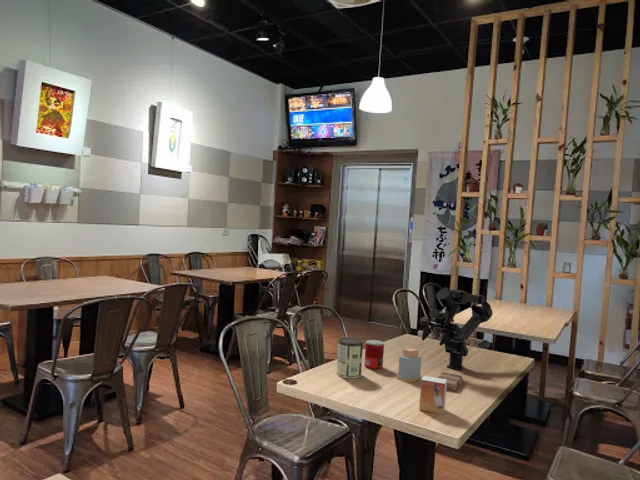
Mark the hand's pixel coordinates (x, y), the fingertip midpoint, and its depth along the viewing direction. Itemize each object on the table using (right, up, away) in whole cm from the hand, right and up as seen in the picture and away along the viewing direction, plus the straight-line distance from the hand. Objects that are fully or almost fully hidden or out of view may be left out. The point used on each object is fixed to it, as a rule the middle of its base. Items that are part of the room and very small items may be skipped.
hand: (431, 342), depth 201 cm
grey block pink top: (-11, -13, -8) cm, 19 cm away
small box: (-9, -14, -41) cm, 44 cm away
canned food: (-24, -12, +6) cm, 27 cm away
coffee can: (-35, -12, -7) cm, 38 cm away
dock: (+4, -14, -12) cm, 19 cm away
